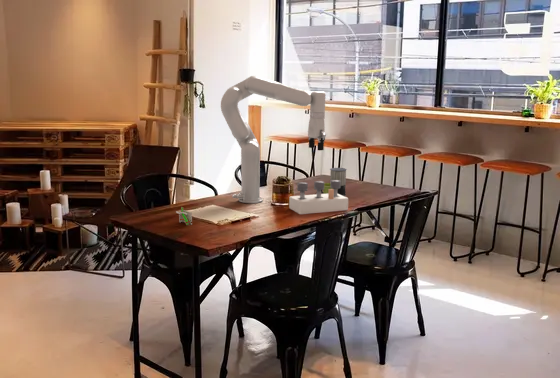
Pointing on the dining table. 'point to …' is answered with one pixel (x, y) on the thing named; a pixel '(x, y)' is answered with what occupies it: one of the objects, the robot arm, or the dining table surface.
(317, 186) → the knob mid
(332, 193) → the dial post
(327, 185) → the plant pot
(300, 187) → the knob near
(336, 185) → the knob far
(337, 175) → the milk frother
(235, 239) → the dining table surface
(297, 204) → the white rectangular block
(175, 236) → the dining table surface
